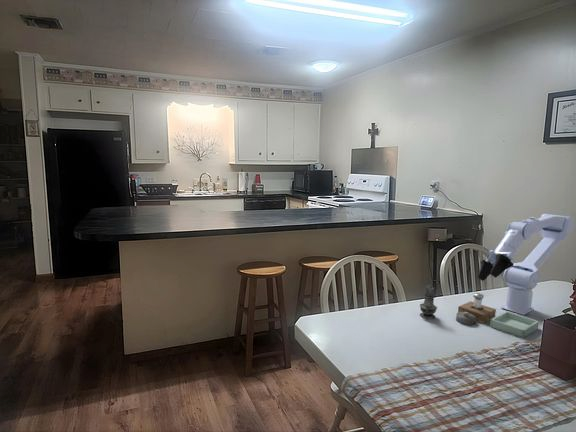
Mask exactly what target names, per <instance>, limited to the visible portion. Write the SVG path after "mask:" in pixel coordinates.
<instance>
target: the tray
mask: <svg viewBox="0 0 576 432" xmlns="http://www.w3.org/2000/svg"><path fill="white" fill-rule="evenodd" d="M539 324H540V321H539V320H537V319H533V318H530V317H528V316H527V317H526V316H524V315H521V314H518V313H515V312H512V311H508V310H506V311H503V312H502V313H500V314H498V315H495V317H494V318H492V319H491V320H489V327H491V328H492V329H493V328H494V329H497V330H499V331H502V332H504V333H507V334H510V335H514V336H516V337H519V338H521V339H525V338H526V337H527V336H529V335H531V333H533V332H535V331H536V330H539Z"/></svg>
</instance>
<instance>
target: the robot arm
mask: <svg viewBox="0 0 576 432" xmlns="http://www.w3.org/2000/svg"><path fill="white" fill-rule="evenodd" d="M574 226H575V220H574V217H572V216H569V215H568V216H565V215H559V214H558V215H557V214H550V213H543V214H541V216H540V217H539V218H537V217H535V216H530V217H528V219H522V220H521V221H519V222H518V221H512V222H511V223H508V224H507V227H506V230H505V232H504V235H503V236H504V237H502V239H501V241H500V242H499V244H498V245H497V246H496V247H495V249H491V250H489V251H488V253H489V254H490V255H489V256H488V258H487V259H482V260H481V261H480V269H479V272H478V275H477V278H478V279H480V281H485V280H487V278H488V277H489V276H490V275H491V276H492V277H494V278H497V277H499V276H500V275H501V274H502V273H503V279H504V280H503V281H504V282H505V284H506V286H507V292H506V300H505V301H506V302H505V304H504V305H502V306H501V307H500V308H501V309H503V310H506V311H508V312H511V313H515V314H518V315H521V316H524V315H526V314H529V313H530V312H531V311H533V310H534V309H535V308H534V307H532V303H533V293H534V292H533V289H534V288H536V287H537V286H538V282H539V280H540V279H541V274H540V270H539V268H540V267H541V266H542V265H543V263H545V261H546V260H547V259H548V257H550V255H551V254H552V253H553V252H554V251H555V249H557V247H558V246H559V245H560V243H561V242H562V241H565V240H566V239H567V238H568V237H569V235H571V233H572V232H573V231H574ZM538 233H539V236H540V237H541V238H542V239H541V241H540V242H539V243H538V244H537V245H536V246H535V248H533V249H532V251H531V252H530V253H529V254H528V255H527V256H526V258H524V260H523V261H520V262H514V263H513V262H512V261H513V260H515V258H516V256H517V255H516V253H517V251H518V250H519V249H520V247H521V246H522V244H523V243H524V241H525V240H527V241H529V240H531V238H532V236H534V235H535V234H538Z"/></svg>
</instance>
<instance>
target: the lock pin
mask: <svg viewBox="0 0 576 432" xmlns="http://www.w3.org/2000/svg"><path fill="white" fill-rule="evenodd" d="M472 295H473V298H474V299H473V302H474V307H473V309H476V310H479V311H480V310H481V305H483V304H482V301H483V299H484V296H485V295H484V294H483V293H479V292H473V294H472Z"/></svg>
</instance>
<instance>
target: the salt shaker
mask: <svg viewBox="0 0 576 432" xmlns="http://www.w3.org/2000/svg"><path fill="white" fill-rule="evenodd" d="M423 296H424V301H423V303H420V304H419V307H420V311H421V313H420V314H419V317H421V318H423V319H427V320H435V319H436V318H437V317H436V315H435V314H436V311H437V309H438V306H437V305H435V304H434V299H435V287H434V286H432V284H431V283H429V285H426V286H425V292H424V294H423Z"/></svg>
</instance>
